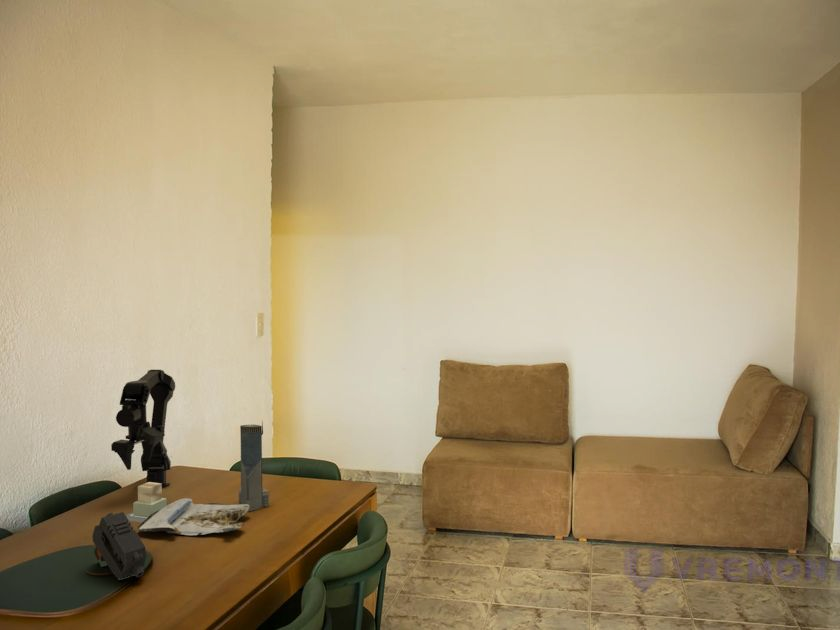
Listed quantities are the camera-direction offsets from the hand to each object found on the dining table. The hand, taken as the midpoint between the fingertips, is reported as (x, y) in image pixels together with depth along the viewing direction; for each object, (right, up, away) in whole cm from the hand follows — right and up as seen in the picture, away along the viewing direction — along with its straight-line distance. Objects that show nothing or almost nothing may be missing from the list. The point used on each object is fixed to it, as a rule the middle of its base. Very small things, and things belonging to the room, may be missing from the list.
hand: (138, 465), depth 232 cm
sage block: (+9, -12, -12) cm, 19 cm away
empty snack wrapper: (+28, -14, -23) cm, 39 cm away
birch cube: (+9, -8, -12) cm, 17 cm away
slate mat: (+9, -13, -12) cm, 20 cm away
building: (+39, -13, -5) cm, 42 cm away
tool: (+18, -15, -56) cm, 61 cm away
